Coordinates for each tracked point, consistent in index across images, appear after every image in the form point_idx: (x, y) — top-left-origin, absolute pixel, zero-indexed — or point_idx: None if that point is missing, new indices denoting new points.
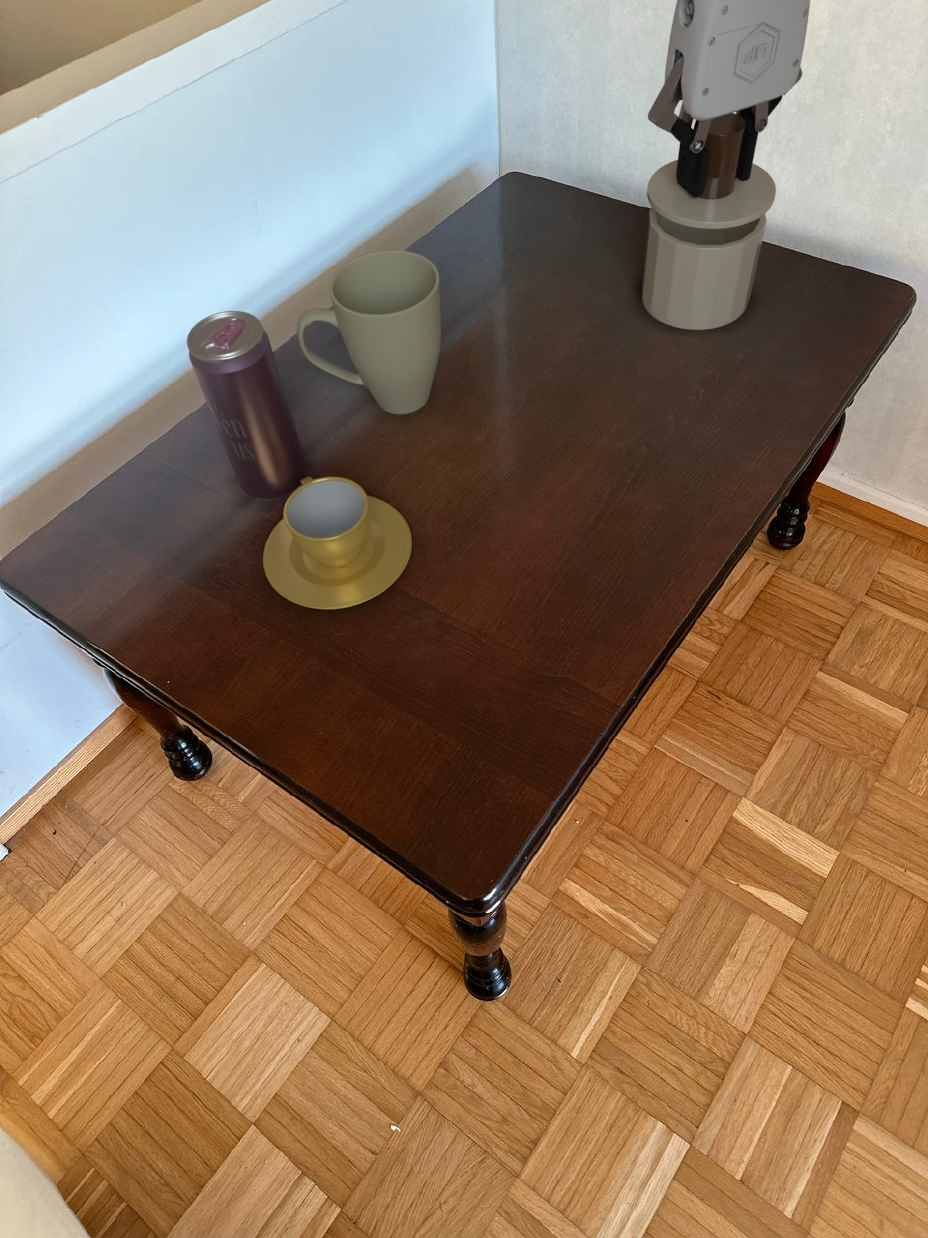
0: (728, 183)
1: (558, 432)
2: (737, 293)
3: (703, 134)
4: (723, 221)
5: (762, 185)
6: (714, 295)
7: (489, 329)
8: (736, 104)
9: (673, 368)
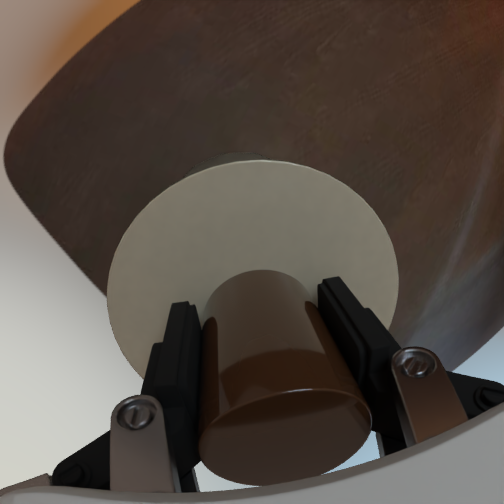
0: (251, 286)
1: (469, 83)
2: (215, 159)
3: (418, 391)
4: (307, 171)
5: (139, 282)
6: (263, 156)
7: (461, 259)
8: (414, 488)
9: (334, 101)
